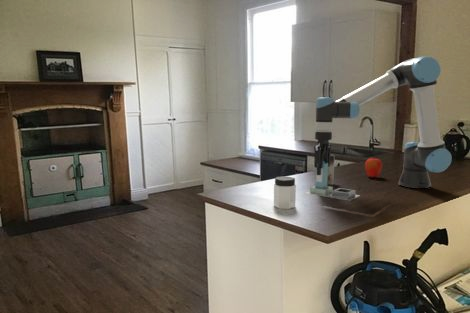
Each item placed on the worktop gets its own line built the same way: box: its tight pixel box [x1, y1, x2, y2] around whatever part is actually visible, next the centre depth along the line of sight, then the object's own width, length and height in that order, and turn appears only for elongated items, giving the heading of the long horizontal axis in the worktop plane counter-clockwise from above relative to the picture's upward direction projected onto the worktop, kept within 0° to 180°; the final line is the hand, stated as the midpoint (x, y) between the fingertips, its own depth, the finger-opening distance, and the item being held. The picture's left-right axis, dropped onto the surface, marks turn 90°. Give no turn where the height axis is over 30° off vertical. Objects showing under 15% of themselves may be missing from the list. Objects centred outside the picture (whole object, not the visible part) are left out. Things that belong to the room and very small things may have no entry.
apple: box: [364, 157, 383, 178], centre depth 221 cm, size 9×9×12 cm
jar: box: [273, 176, 297, 210], centre depth 159 cm, size 9×8×12 cm
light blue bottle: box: [314, 161, 328, 189], centre depth 180 cm, size 4×4×13 cm
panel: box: [305, 185, 361, 201], centre depth 177 cm, size 22×12×4 cm, turn 51°
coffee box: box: [314, 153, 336, 186], centre depth 201 cm, size 9×6×16 cm
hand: (321, 180), depth 180 cm, fingers closed on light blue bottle, 4 cm apart
